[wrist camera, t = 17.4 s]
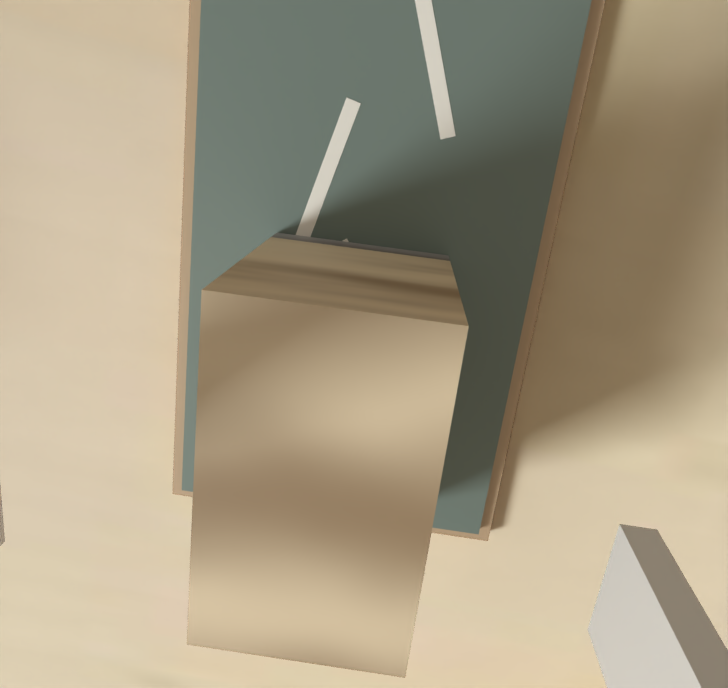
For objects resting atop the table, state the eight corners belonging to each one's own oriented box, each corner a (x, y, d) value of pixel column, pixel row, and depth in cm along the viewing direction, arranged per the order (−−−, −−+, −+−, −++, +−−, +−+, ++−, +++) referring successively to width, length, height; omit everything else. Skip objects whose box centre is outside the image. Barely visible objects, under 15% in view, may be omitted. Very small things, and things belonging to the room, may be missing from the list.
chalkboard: (208, -332, 19) (197, -357, 18) (661, -282, 18) (675, -305, 17) (177, 486, 27) (169, 499, 26) (486, 532, 27) (488, 547, 26)
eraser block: (276, 232, 23) (201, 289, 15) (448, 255, 22) (469, 326, 14) (257, 483, 26) (186, 644, 18) (407, 505, 26) (405, 677, 18)
